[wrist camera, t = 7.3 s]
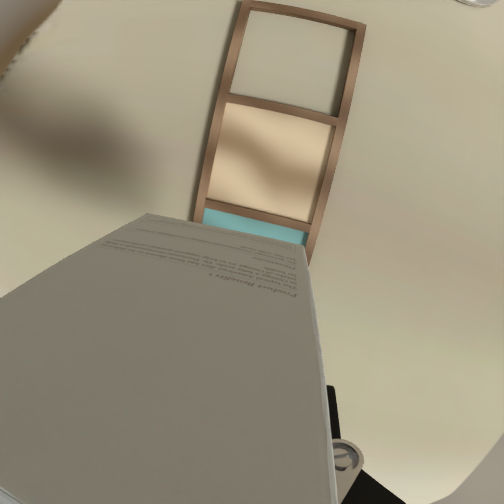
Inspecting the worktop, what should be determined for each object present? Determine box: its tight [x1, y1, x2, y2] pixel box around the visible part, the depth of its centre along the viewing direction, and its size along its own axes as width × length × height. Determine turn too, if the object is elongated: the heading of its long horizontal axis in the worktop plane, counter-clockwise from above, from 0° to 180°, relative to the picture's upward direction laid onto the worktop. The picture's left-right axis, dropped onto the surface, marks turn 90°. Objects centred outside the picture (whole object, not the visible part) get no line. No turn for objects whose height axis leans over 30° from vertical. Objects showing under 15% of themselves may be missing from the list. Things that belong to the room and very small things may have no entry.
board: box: [193, 0, 366, 267], centre depth 28 cm, size 31×12×1 cm, turn 168°
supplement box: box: [0, 213, 338, 504], centre depth 9 cm, size 7×7×13 cm
